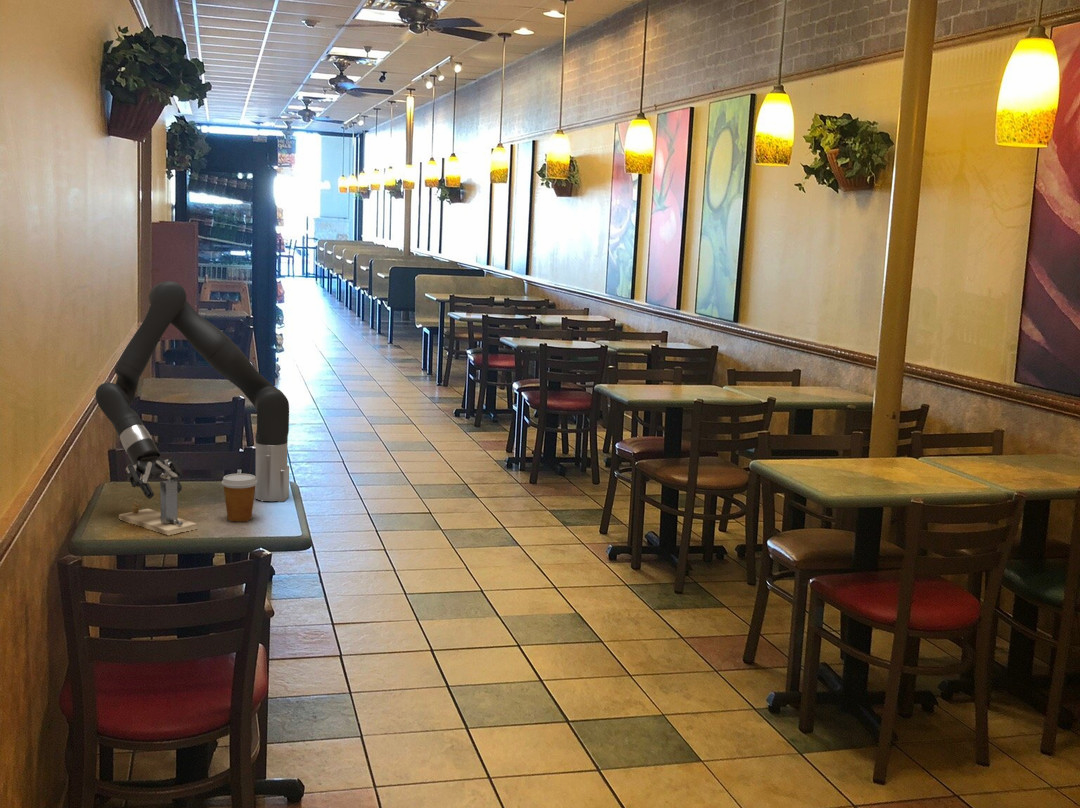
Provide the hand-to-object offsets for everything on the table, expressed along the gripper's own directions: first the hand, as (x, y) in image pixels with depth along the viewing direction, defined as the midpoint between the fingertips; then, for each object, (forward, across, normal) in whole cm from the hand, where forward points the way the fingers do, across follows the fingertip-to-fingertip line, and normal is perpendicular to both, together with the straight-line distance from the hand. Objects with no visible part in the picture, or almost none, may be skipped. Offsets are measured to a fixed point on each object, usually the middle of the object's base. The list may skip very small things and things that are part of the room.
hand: (165, 494), depth 283 cm
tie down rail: (+4, 0, +9) cm, 10 cm away
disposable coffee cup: (+12, +19, +2) cm, 22 cm away
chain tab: (+7, 0, +4) cm, 8 cm away
